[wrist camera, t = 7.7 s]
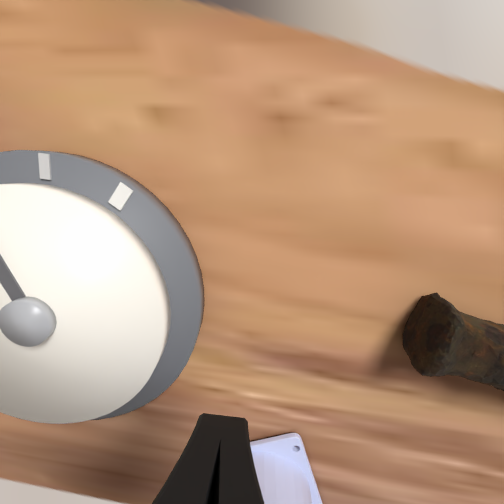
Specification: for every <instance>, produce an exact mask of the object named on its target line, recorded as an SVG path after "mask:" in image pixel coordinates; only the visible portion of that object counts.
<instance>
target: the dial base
mask: <svg viewBox="0 0 504 504" xmlns="http://www.w3.org/2000/svg"><path fill="white" fill-rule="evenodd" d="M10 183H38V184H47V185H52V186H56V187H61V188H65V189H68V190H71V191H73V192H76V193H79V194H81V195H84V196H86V197H88V198H90V199H92V200H94V201H96V202H98V203H100V204H101V205H103V206H104V207H106V208H107V209H109V210H110V211H112V212H113V213H115V214H116V215H117V216H118V217H120V218H121V219H122V220H123V221H124V222H125V223H127V224H128V225H129V226H130V227H131V228H132V229H133V230H134V231H135V233H136V234H137V235H138V236H139V237H140V238H141V239H142V240H143V242H144V243H145V244H146V246H147V247H148V249H149V250H150V251H151V253H152V254H153V256H154V258H155V260H156V262H157V264H158V265H159V267H160V269H161V272H162V275H163V277H164V280H165V282H166V286H167V290H168V294H169V299H170V308H171V323H170V331H169V336H168V340H167V343H166V346H165V349H164V352H163V354H162V355H161V357H160V359H159V361H158V363H157V365H156V367H155V369H154V371H153V373H152V375H151V377H150V378H149V380H148V381H147V383H146V384H145V385H144V387H143V388H142V389H141V391H140V392H138V393H137V394H136V395H135V396H134V397H133V398H132V399H131V400H130V401H129V402H127V403H126V404H124V405H123V406H121V407H120V408H118V409H116V410H114V411H113V412H111V413H109V414H106V415H104V416H101V417H98V418H95V419H91V420H99V419H104V418H110V417H115V416H118V415H122V414H125V413H128V412H131V411H133V410H135V409H137V408H140V407H142V406H144V405H145V404H147V403H149V402H150V401H152V400H154V399H155V398H157V397H158V396H159V395H160V394H161V393H163V392H164V391H165V390H166V389H167V388H168V387H169V386H170V385H171V384H172V383H173V382H174V381H175V380H176V379H177V377H178V376H179V375H180V373H181V372H182V370H183V369H184V367H185V366H186V364H187V362H188V360H189V357H190V355H191V353H192V351H193V348H194V346H195V343H196V340H197V337H198V334H199V331H200V327H201V324H202V319H203V312H204V286H203V279H202V273H201V269H200V266H199V263H198V259H197V256H196V254H195V251H194V249H193V247H192V245H191V242H190V240H189V238H188V237H187V235H186V233H185V232H184V230H183V228H182V227H181V225H180V223H179V222H178V221H177V219H176V218H175V217H174V216H173V214H172V213H171V212H170V211H169V209H168V208H167V207H166V206H165V205H164V204H163V203H162V202H161V201H160V200H159V199H158V198H157V197H156V196H155V195H154V194H153V193H152V192H150V191H149V190H148V189H147V188H145V187H144V186H143V185H141V184H140V183H139V182H138V181H136V180H135V179H133V178H131V177H130V176H128V175H126V174H125V173H123V172H121V171H120V170H118V169H116V168H113V167H111V166H109V165H107V164H104V163H102V162H100V161H97V160H93V159H90V158H87V157H84V156H80V155H75V154H69V153H63V152H51V151H30V150H15V151H6V152H0V184H10Z"/></svg>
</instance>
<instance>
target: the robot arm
mask: <svg viewBox="0 0 504 504" xmlns="http://www.w3.org/2000/svg"><path fill="white" fill-rule="evenodd" d="M294 446H295V447H294ZM152 504H323V503H322V500H321V497H320V494H319V491H318V488H317V485H316V482H315V479H314V476H313V473H312V470H311V466H310V463H309V460H308V457H307V454H306V451H305V448H304V445H303V442H302V439H301V436H300V435H299V434H297V433H289V434H284V435H280V436H275V437H271V438H266V439H262V440H257V441H253V442H250V440H249V432H248V422H247V421H246V419H245V418H239V417H230V416H222V415H213V414H205V413H203V414H202V415H200V416H199V419H198V421H197V424H196V426H195V429H194V431H193V433H192V435H191V437H190V439H189V441H188V443H187V445H186V447H185V449H184V451H183V453H182V455H181V457H180V458H179V460H178V462H177V463H176V465H175V467H174V469H173V470H172V472H171V474H170V475H169V477H168V479H167V481H166V482H165V484H164V486H163V487H162V489H161V491H160V492H159V494H158V495H157V497H156V498H155V500H154V501H153V503H152Z"/></svg>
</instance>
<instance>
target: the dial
mask: <svg viewBox="0 0 504 504" xmlns="http://www.w3.org/2000/svg"><path fill="white" fill-rule="evenodd" d="M170 323H171V308H170V299H169V294H168V290H167V286H166V282H165V280H164V277H163V275H162V272H161V269H160V267H159V265H158V264H157V262H156V260H155V258H154V256H153V254H152V253H151V251H150V250H149V249H148V247H147V246H146V244H145V243H144V242H143V240H142V239H141V238H140V237H139V236H138V235H137V234H136V233H135V231H134V230H133V229H132V228H131V227H130V226H129V225H128V224H127V223H125V222H124V221H123V220H122V219H121V218H120V217H118V216H117V215H116V214H115V213H113V212H112V211H110V210H109V209H107V208H106V207H104V206H103V205H101V204H100V203H98V202H96V201H94V200H92V199H90V198H88V197H86V196H84V195H81V194H79V193H76V192H73V191H71V190H68V189H65V188H61V187H56V186H52V185H47V184H38V183H10V184H0V412H1V413H4V414H7V415H10V416H13V417H16V418H19V419H24V420H29V421H33V422H41V423H50V424H67V423H76V422H83V421H87V420H91V419H95V418H98V417H101V416H104V415H106V414H109V413H111V412H113V411H114V410H116V409H118V408H120V407H121V406H123V405H124V404H126V403H127V402H129V401H130V400H131V399H132V398H133V397H134V396H135V395H136V394H137V393H138V392H140V391H141V389H142V388H143V387H144V385H145V384H146V383H147V381H148V380H149V378H150V377H151V375H152V373H153V371H154V369H155V367H156V365H157V363H158V361H159V359H160V357H161V355H162V354H163V352H164V349H165V346H166V343H167V340H168V336H169V331H170Z"/></svg>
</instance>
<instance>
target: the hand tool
mask: <svg viewBox="0 0 504 504" xmlns="http://www.w3.org/2000/svg"><path fill="white" fill-rule="evenodd" d="M403 347H404V350H405V351H406V353H407V354H408V355H409V358H410V360H411V363H412V365H413V367H414V368H415V369H416V370H417V371H418V372H419V373H420V374H421V375H426V376H444V375H457V376H461V377H464V378H467V379H470V380H473V381H476V382H480V383H485V384H488V385H491V386H493V387H495V388H497V389H501V390H503V391H504V325H503V324H496V323H494V322H491V321H487V320H482V319H479V318H476V317H474V316H470V315H467V314H464V313H462V312H460V311H458V310H457V309H456V308H455V307H454V306H453V305H452V304H451V303H450V302H448V301H447V300H445V299H443V298H441V297H440V296H439V295H438V293H433V294H430V295H426V296H422V297H421V299H420V300H419V303H418V305H417V306H416V308H415V309H414V311H413V312H412V313H411V315H410V317H409V319H408V321H407V323H406V326H405V330H404V333H403Z"/></svg>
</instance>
